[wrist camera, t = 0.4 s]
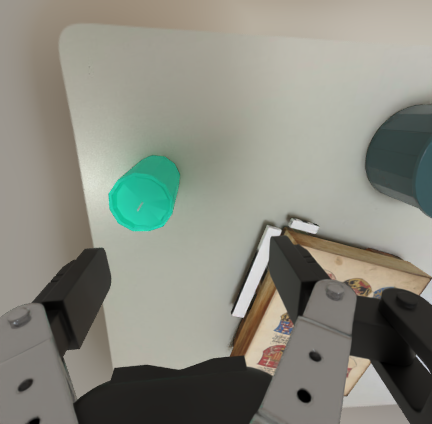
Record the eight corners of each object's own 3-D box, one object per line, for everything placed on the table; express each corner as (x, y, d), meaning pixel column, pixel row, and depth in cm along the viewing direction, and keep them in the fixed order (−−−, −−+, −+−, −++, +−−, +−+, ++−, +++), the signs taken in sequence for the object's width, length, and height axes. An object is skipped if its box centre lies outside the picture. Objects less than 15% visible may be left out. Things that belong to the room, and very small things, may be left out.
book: (268, 207, 36) (212, 344, 45) (283, 225, 30) (215, 379, 39) (403, 244, 40) (328, 362, 49) (440, 266, 34) (346, 396, 43)
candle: (129, 190, 33) (95, 228, 22) (141, 147, 31) (111, 166, 20) (172, 204, 34) (160, 248, 23) (186, 165, 32) (181, 191, 21)
